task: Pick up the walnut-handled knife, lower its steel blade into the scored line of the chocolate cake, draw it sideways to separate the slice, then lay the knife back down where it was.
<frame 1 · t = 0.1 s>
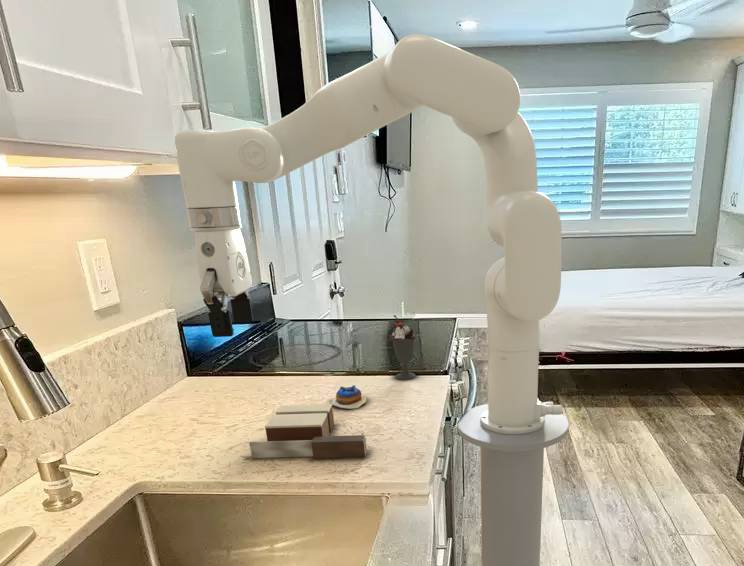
hand: (234, 328, 94), 22 cm above the worktop, tool pointing down, fingers open, 9 cm apart
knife: (340, 455, 100), on the worktop
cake: (300, 442, 105), on the worktop
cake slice: (307, 429, 110), on the worktop
sundae: (405, 377, 139), on the worktop
dessert: (349, 403, 123), on the worktop
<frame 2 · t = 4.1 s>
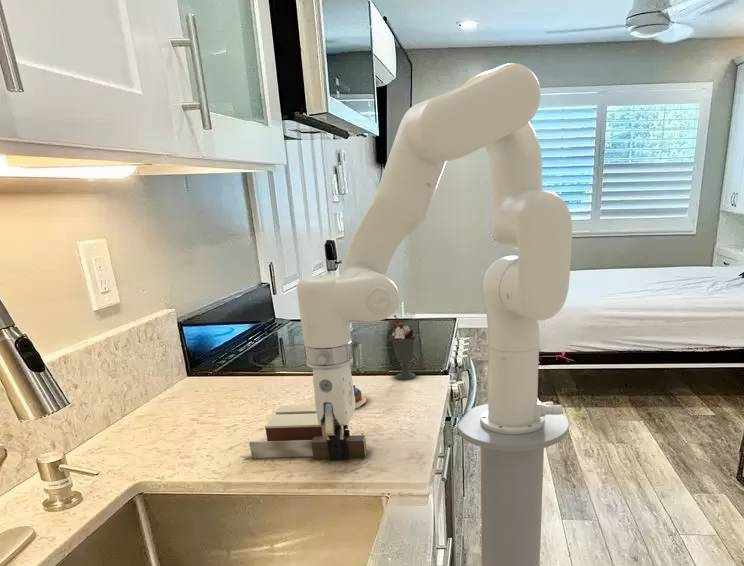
hand: (340, 454, 100), 0 cm above the worktop, tool pointing down, fingers closed on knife, 2 cm apart
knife: (340, 455, 100), on the worktop, touching gripper
everything else where it was.
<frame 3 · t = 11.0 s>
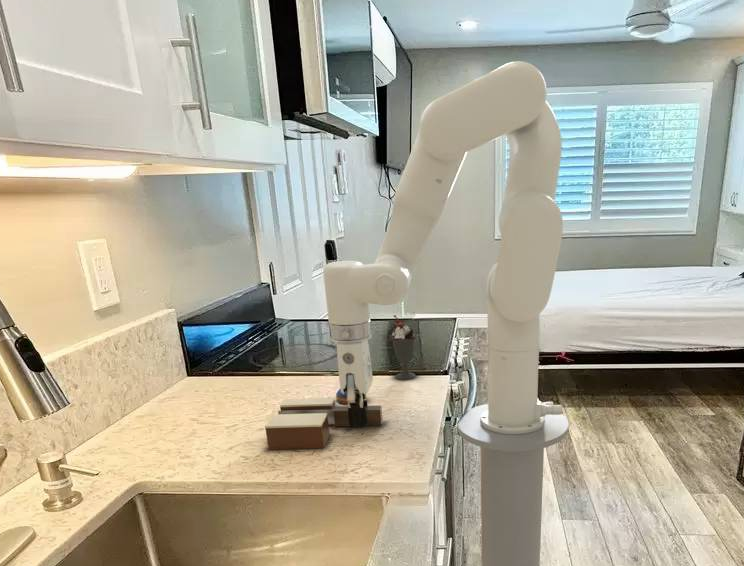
hand: (359, 421, 111), 1 cm above the worktop, tool pointing down, fingers closed on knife, 2 cm apart
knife: (359, 423, 112), on the worktop, touching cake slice, gripper
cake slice: (310, 422, 114), on the worktop, touching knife
everything else where it was.
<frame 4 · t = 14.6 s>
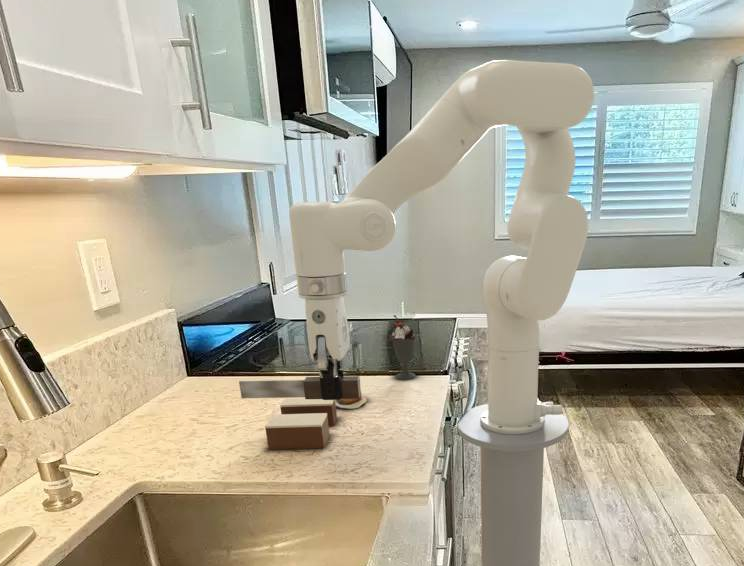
hand: (333, 395, 96), 11 cm above the worktop, tool pointing down, fingers closed on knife, 2 cm apart
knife: (333, 396, 96), point 11 cm above the worktop, touching gripper
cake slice: (310, 422, 114), on the worktop
everything else where it was.
when the fingers open (0 cm above the worktop, at t = 17.2 s): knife stays where it is, on the worktop.
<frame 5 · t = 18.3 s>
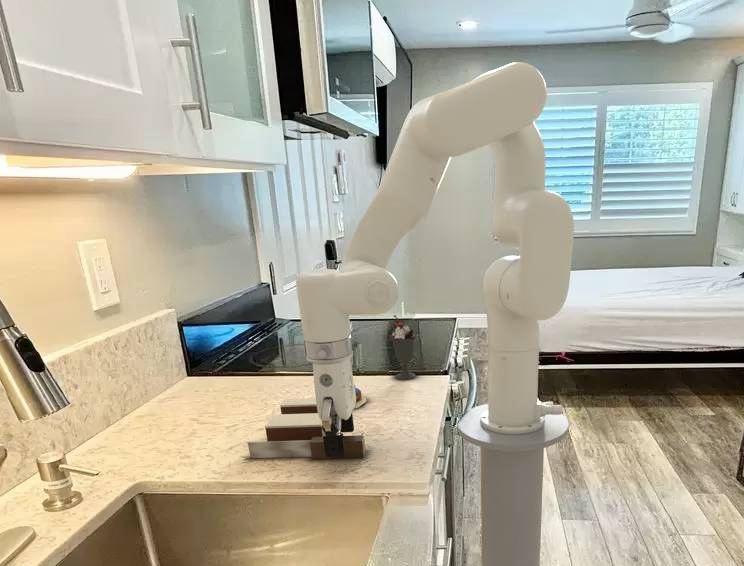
hand: (340, 443, 99), 2 cm above the worktop, tool pointing down, fingers open, 9 cm apart
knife: (339, 455, 100), on the worktop
everything else where it was.
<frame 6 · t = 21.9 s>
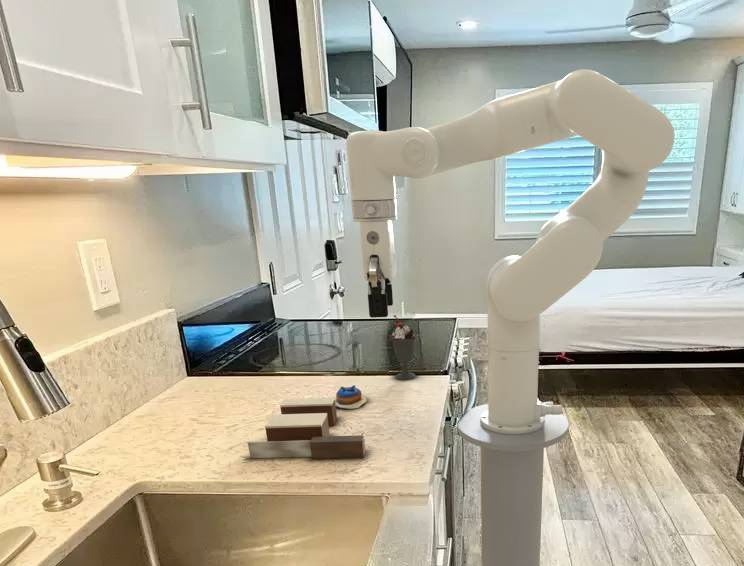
hand: (381, 311, 104), 22 cm above the worktop, tool pointing down, fingers open, 9 cm apart
nothing on the worktop moved.
at the end: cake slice moved 3.5 cm from its start; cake moved 0.0 cm from its start; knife inside the target area (0.2 cm from its centre), on the worktop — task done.
